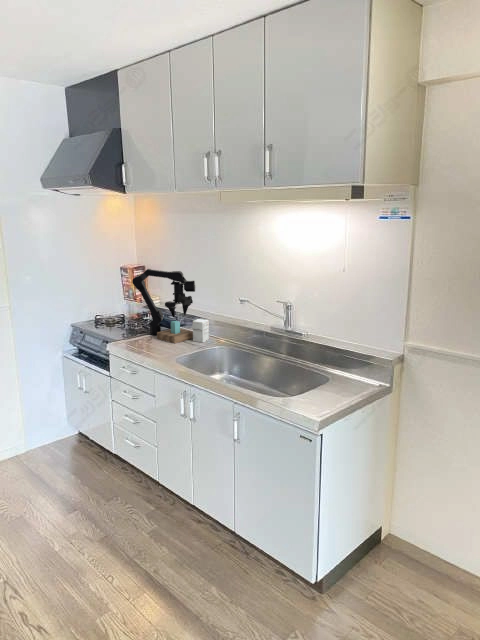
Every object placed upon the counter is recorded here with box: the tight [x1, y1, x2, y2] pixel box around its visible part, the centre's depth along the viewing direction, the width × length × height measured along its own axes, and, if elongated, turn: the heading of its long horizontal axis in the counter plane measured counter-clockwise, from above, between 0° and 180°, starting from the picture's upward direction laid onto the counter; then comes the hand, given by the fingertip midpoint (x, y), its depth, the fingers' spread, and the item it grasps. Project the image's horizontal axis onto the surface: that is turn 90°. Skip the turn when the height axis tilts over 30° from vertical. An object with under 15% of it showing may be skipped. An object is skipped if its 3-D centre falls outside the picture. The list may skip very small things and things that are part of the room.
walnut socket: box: [156, 328, 193, 344], centre depth 295 cm, size 16×16×4 cm
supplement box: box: [192, 318, 210, 343], centre depth 289 cm, size 7×7×13 cm
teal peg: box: [170, 320, 181, 334], centre depth 294 cm, size 4×4×10 cm
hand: (179, 316), depth 302 cm, fingers open, 9 cm apart
